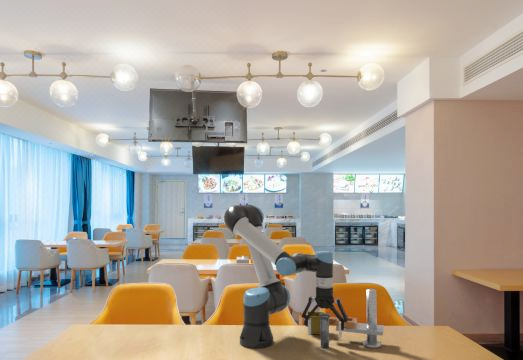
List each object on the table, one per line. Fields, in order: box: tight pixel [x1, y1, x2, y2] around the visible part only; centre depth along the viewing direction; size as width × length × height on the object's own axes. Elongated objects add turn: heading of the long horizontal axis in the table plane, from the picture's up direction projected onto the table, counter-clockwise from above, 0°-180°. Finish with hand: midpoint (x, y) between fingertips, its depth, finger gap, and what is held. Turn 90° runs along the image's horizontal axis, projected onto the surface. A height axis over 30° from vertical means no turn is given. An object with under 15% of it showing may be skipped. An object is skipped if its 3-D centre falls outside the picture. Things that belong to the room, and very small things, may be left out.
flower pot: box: [306, 311, 325, 335], centre depth 201 cm, size 9×9×9 cm
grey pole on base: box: [329, 288, 385, 349], centre depth 188 cm, size 26×10×24 cm, turn 70°
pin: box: [319, 312, 331, 349], centre depth 182 cm, size 5×5×14 cm
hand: (324, 335), depth 182 cm, fingers open, 13 cm apart
